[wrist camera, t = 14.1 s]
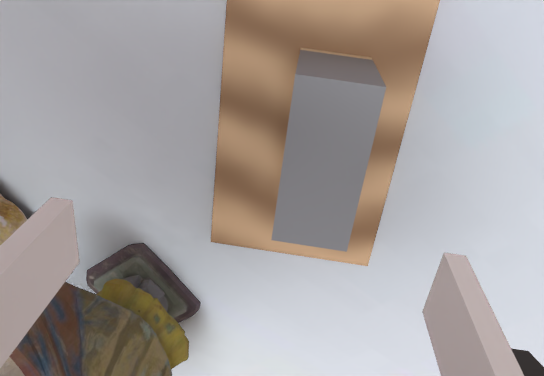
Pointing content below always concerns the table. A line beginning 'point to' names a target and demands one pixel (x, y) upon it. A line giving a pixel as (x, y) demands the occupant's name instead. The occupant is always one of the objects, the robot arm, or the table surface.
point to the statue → (112, 322)
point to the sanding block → (327, 148)
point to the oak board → (277, 101)
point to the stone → (3, 223)
